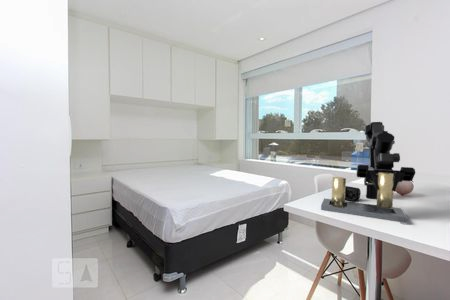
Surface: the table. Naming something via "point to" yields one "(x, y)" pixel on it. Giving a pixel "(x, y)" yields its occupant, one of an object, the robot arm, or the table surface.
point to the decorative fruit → (404, 187)
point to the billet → (338, 191)
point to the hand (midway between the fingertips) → (385, 190)
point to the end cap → (352, 194)
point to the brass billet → (385, 189)
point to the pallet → (366, 211)
